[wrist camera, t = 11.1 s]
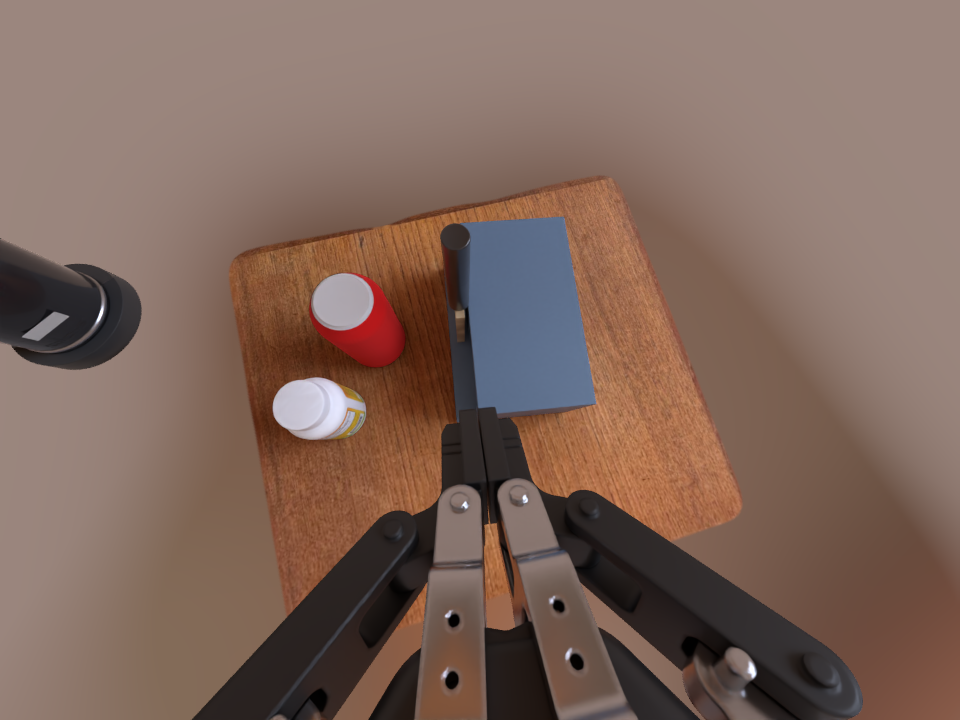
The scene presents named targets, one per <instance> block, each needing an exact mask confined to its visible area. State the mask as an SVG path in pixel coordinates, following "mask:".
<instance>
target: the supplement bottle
mask: <svg viewBox="0 0 960 720" xmlns="http://www.w3.org/2000/svg"><path fill="white" fill-rule="evenodd" d="M273 414H274V417H275V419H276V421H277V422H278V423H279V424H280V425H281V426H282V427H284V428H286V429H288V430H289V431H290V432H291V433H292V434H293V435H295V436H297V437H299V438H303V439H308V440H319V439H343V438H347V437H350V436H351V435H353V434H354V433H356V432H357V431H358V430H359V429H360V428H361V426H362V425H363V423H364V421H365V417H366V405H365V402H364V400H363V399H362V397H361V396H360V395H359V394H358V393H357V392H356V391H354V390H352V389H350V388H347V387H345V386H343V385H340V384H338V383H335V382H333V381H331V380H328V379H325V378H317V377H315V378H308V379H305V380H296V381H292V382H290V383H288V384H286V385H284V386H283V387H282V388H281V389H280V390H279V391H278V393H277V394H276V396H275V398H274V401H273Z"/></svg>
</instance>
